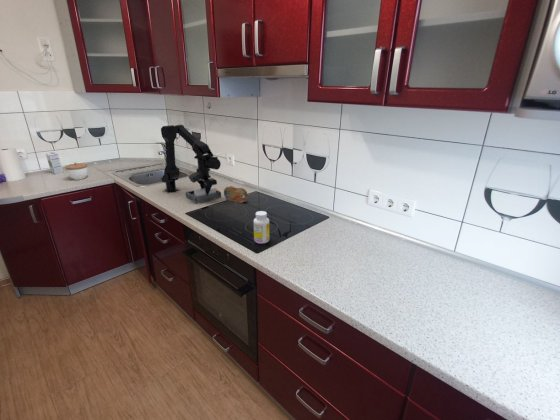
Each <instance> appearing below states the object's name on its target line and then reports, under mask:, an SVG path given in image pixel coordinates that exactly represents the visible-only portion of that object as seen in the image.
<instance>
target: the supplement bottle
mask: <svg viewBox="0 0 560 420" xmlns="http://www.w3.org/2000/svg"><path fill="white" fill-rule="evenodd" d="M267 216H268V213H267V211H264V210H258V211H256V212H255V218H253V241H254V242H255V243H257V244H266V243H268V242H270V219H269V218H268V217H267Z"/></svg>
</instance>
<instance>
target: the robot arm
mask: <svg viewBox="0 0 560 420" xmlns="http://www.w3.org/2000/svg"><path fill="white" fill-rule="evenodd" d="M160 133H161V137H162V139H163V140H164V146H165V160H166V165H165V167H164V171H163V175H162V177H161V178H160V180H161V182H162V183H163V184H164V183H165V187H166V188H164V191H166V192H167V193H172V192H173V193H174V192H178V191H179V189H178V188H177V186H176V185H177V184H176V181H178V180H179V176H180V168H179V167H178V166H177V165H176V151H175V149H176V147H175V141H176V139H177V135H179V136H180V138H182V139H183V140H184V141H185V142H186V143H188V145H190V146H191V149H192V151H193V152H194V154H195V156H193V158H194V159H196V160H197V168H196V171H195V172H192V173H191V174H189V175H188V176H187V177H188V178H189V181H190V182H192V183H198V184H199V187H200V189H203V188H205V190H206V194H209V192H210V189H211V187H213V186H217V185H218V181H217V179H215V178H213V177H212V176H211V175H210V172H211V170H217V171H218V170H219V169H220V168H221V161H220V159H219V158H218V156H214V154H213V152H212V151H211V149H210V146H209V144H207V143H205V142H204V141H201V140H199V139H198V138H197V137H196V136H194V135H193V134H192V133H191V132H190V131H189V130H188V129H187V128H186V127H185V126H184V125H183V124H177V125H174V124H170V125H163V126H162V127H161V128H160Z"/></svg>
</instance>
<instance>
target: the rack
mask: <svg viewBox="0 0 560 420" xmlns="http://www.w3.org/2000/svg"><path fill="white" fill-rule="evenodd" d="M199 189H200V188H199ZM199 189H197V190H199ZM194 190H195V189H194ZM194 190H190V191H189V190H188V191H186V192H185V197H186V199H188V200H190V201H191V202H193V203H194V204H199V203H204V202H208V201H212V200H216V199H221V198H222V192H221V191H220V190H219V189H217V188H216V193H213V194H209V195H204V196H200V197H195V196H194Z"/></svg>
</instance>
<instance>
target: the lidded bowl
mask: <svg viewBox="0 0 560 420" xmlns="http://www.w3.org/2000/svg"><path fill="white" fill-rule="evenodd" d="M64 168H65V172H66V173H67V176H69V178H71V179H72V180H74V181H80V180H83V179H85V178H86V177H87V176H88V174H89V173H88V172H89V171H88V170H89V169H88V165H87V163H82V162H81V163H77V162H74V163H72V164H68V165H65V167H64Z"/></svg>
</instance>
